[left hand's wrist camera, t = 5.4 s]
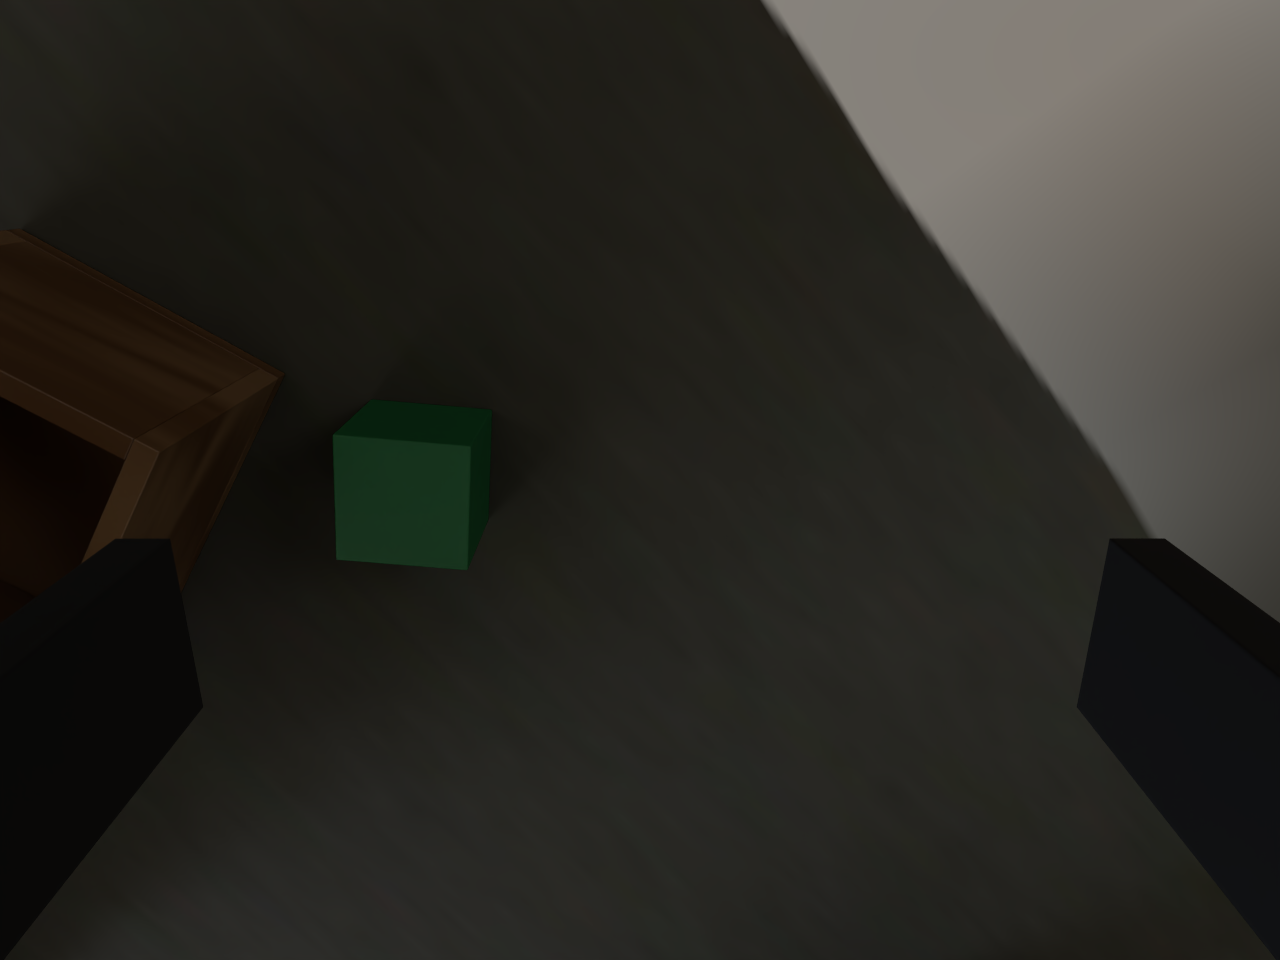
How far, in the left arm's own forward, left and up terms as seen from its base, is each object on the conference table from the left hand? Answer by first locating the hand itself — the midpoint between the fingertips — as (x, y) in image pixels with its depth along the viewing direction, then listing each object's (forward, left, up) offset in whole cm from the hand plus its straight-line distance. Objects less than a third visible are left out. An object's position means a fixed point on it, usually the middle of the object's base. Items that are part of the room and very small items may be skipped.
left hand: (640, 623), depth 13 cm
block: (-7, +10, -28) cm, 30 cm away
